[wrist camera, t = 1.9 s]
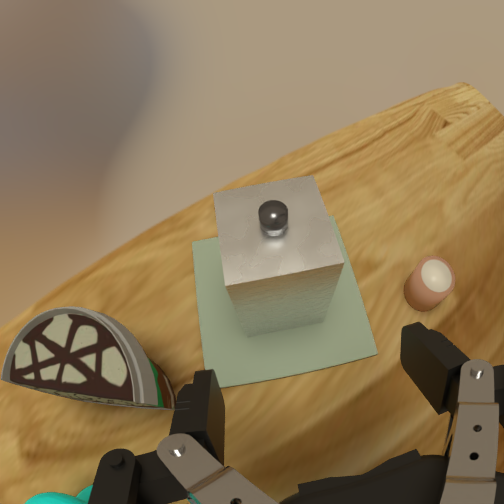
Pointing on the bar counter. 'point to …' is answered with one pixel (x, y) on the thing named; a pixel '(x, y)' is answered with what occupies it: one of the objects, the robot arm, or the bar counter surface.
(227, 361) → the rubber mat
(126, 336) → the food container
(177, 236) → the bar counter surface
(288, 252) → the steel cover
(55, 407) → the bar counter surface
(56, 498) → the donuts
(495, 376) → the robot arm
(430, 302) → the terracotta ramekin
